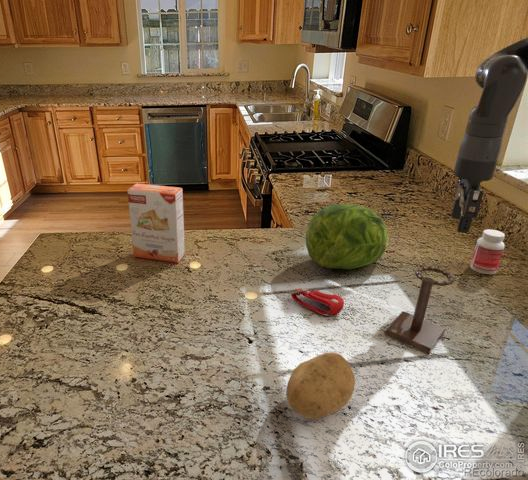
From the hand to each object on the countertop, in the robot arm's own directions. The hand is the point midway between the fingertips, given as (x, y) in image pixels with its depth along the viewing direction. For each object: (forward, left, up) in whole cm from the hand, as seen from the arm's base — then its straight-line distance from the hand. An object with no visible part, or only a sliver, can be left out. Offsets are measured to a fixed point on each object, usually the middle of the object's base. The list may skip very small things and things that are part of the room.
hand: (459, 224), depth 98 cm
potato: (+3, +54, -18) cm, 57 cm away
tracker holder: (+19, +27, -18) cm, 37 cm away
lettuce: (+24, +4, -18) cm, 30 cm away
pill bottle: (-5, -17, -18) cm, 25 cm away
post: (-2, +23, -18) cm, 29 cm away
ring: (+3, -4, -17) cm, 18 cm away
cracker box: (+65, +37, -18) cm, 77 cm away
